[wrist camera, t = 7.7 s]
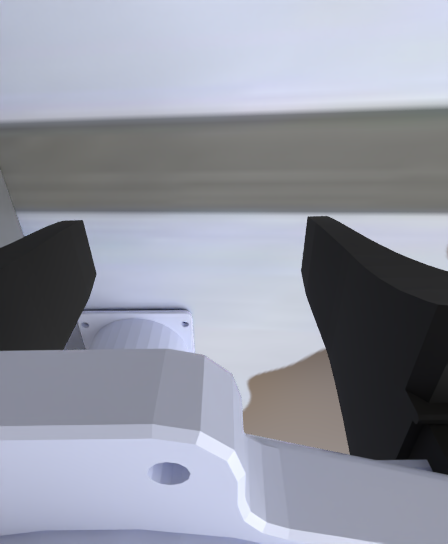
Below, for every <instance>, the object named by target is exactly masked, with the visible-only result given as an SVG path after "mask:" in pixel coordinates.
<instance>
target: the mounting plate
mask: <svg viewBox="0 0 448 544" xmlns="http://www.w3.org/2000/svg"><path fill="white" fill-rule="evenodd" d="M23 237H24V235H23V233H22V230H21V227H20V224H19V221H18V218H17V215H16V212H15V210H14V207H13V204H12V201H11V198H10V195H9V192H8V189H7V187H6V184H5V181H4V178H3V175H2V172H1V169H0V248H1V247H3V246H6V245H8V244H10V243H12V242H15V241H17V240H19V239H21V238H23Z"/></svg>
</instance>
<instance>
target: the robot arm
mask: <svg viewBox="0 0 448 544" xmlns="http://www.w3.org/2000/svg"><path fill="white" fill-rule="evenodd" d="M301 272H302V277H303V283H304V287H305V292H306V296H307V299H308V302H309V304H310V307H311V310H312V313H313V315H314V318H315V321H316V323H317V326H318V329H319V331H320V334H321V337H322V339H323V342H324V345H325V347H326V350H327V353H328V357H329V360H330V364H331V368H332V372H333V376H334V380H335V385H336V389H337V393H338V398H339V403H340V407H341V412H342V416H343V421H344V426H345V431H346V436H347V441H348V446H349V452H350V455H348V454H343V453H338V452H333V451H328V450H323V449H319V448H314V447H309V446H304V445H299V444H294V443H289V442H284V441H279V440H275V439H270V438H264V437H260V436H255V435H250V434H245V433H244V431H243V413H242V397H241V394H240V392H239V389H238V387H237V384H236V382H235V379H234V377H233V374H232V373H231V372H229V371H228V370H226V369H225V368H223V367H222V366H220V365H219V364H217V363H216V362H214V361H213V360H211V359H210V358H208V357H207V356H205V355H202V354H196V353H195V350H194V336H193V322H192V314H191V313H190V312H189V311H187V310H138V311H83V309H84V307H85V305H86V303H87V301H88V299H89V297H90V294H91V291H92V288H93V284H94V281H95V277H96V270H95V266H94V263H93V259H92V255H91V251H90V247H89V243H88V239H87V235H86V231H85V227H84V223H83V220H76V221H61V222H58V223H55V224H52V225H50V226H47V227H45V228H43V229H40V230H38V231H36V232H34V233H32V234H30V235H27V236H25V237H23V238H21V239H19V240H17V241H15V242H12V243H10V244H8V245H6V246H3V247H1V248H0V544H448V271H444V270H441V269H438V268H435V267H432V266H429V265H426V264H423V263H421V262H418V261H415V260H413V259H410V258H408V257H405V256H403V255H401V254H398V253H396V252H394V251H392V250H390V249H388V248H386V247H384V246H382V245H380V244H378V243H376V242H374V241H372V240H370V239H368V238H366V237H365V236H363V235H361V234H359V233H358V232H356V231H354V230H352V229H351V228H349V227H347V226H345V225H344V224H342V223H340V222H338V221H336V220H335V219H333V218H330V217H328V216H313V217H308V218H307V227H306V235H305V243H304V252H303V260H302V268H301ZM77 322H78V326H79V329H80V332H81V336H82V339H83V342H84V346H85V349H86V350H63V349H64V347H65V345H66V343H67V341H68V339H69V337H70V335H71V333H72V331H73V329H74V327H75V325H76V323H77ZM84 322H86V323H88V324H85V323H84ZM183 322H187V323H186V324H185V323H183Z"/></svg>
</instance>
